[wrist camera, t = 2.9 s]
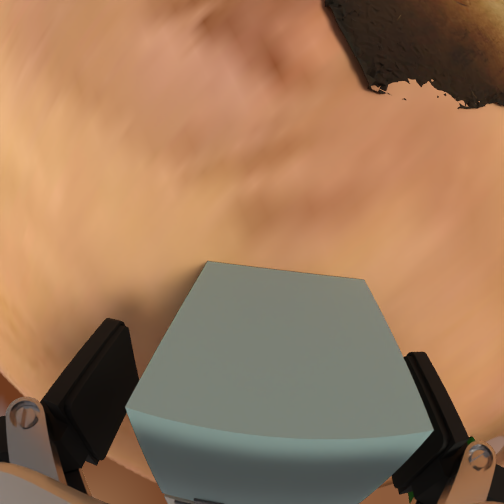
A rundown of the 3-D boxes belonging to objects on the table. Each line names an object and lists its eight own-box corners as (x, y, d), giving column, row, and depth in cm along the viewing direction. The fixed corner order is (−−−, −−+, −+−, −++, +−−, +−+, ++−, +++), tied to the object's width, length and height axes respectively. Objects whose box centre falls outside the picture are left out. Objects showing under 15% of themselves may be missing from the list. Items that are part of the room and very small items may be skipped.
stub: (363, 279, 11) (435, 434, 4) (334, 373, 12) (351, 511, 6) (208, 261, 11) (123, 410, 4) (206, 359, 13) (161, 495, 6)
